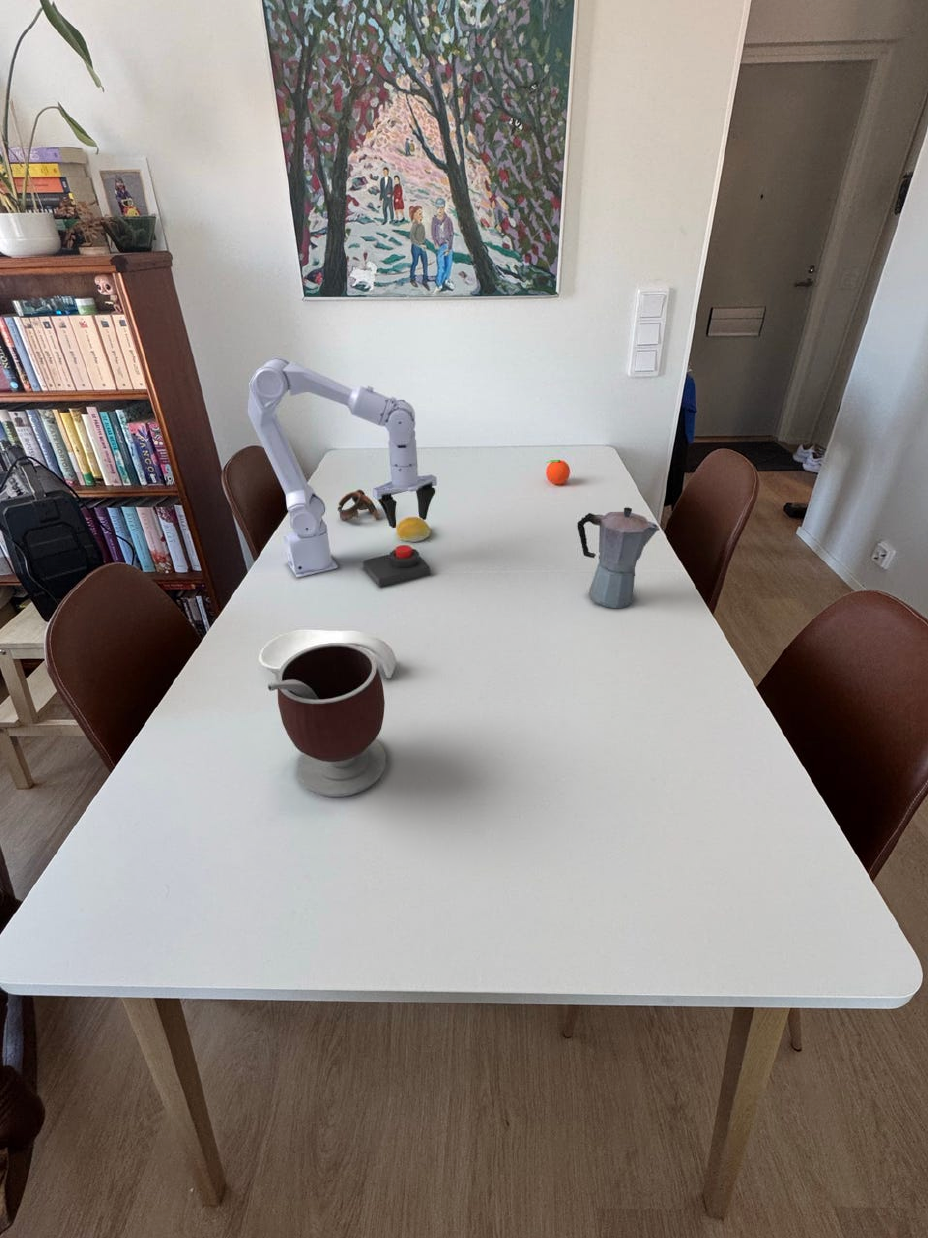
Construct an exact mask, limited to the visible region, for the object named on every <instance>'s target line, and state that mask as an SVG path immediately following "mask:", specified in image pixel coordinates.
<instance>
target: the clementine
mask: <svg viewBox="0 0 928 1238" xmlns="http://www.w3.org/2000/svg"><path fill="white" fill-rule="evenodd" d="M546 464H548V465H547V467H546V470H545V475H546V478H547V479H548V481H549V482H550V483H552V484H553V485H562V484H564V483H566V482H567V480H568V479H569V477H570V475H571V467H570V465H569V464H568V462H566V461H564V460H562V459H552V460H549V461H547V462H546Z"/></svg>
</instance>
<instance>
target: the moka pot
mask: <svg viewBox="0 0 928 1238" xmlns="http://www.w3.org/2000/svg"><path fill="white" fill-rule="evenodd" d="M586 523H590V524H592V525H594V526H599V533H598V535H599V537H598V538H599V542H598V553H599V555H598V564H597V566H596V570H595V572H594V576H593V578H592V582H591V584H590V587H589V590H588V596H589V598H590V599H591V600H592V601H593V602H594V603H596V604H598V605H600V606H602V607H606V608H611V609H622V608H626V607H628V606H630V604H631V603H633V599H634V592H635V591H634V590H635V579H636V566H637V563H638V561H639V560H640V558H641V556H642V554H643V550H644V548H645V546H646V545H647V544H648V543H649V541H650V540H651V539H652V537H653V536H654V535H655V534H656V532H658V531H660V527H659V525H657V524H656V523H655V522H652V521H649V520H648V519H647V518H646V517H645V516H643V515H640V514H637V513H634V512H633V508H631V507H628V506H627V507H624V508H623V511H609V512H607V513H606V514H604V515H603V514H594V513H591V512H588V513H587V514H585V515H584V517H582V518H581V519H580V520H578V522H577V526H576V527H577V532H578V536H579V540H580V544H581V549H582V554H583V556H585V557H587V558H590V559H595V558H596V556H597V554H596V553H594V552H590V551H589V548H588V541H587V535H586V528H585V524H586Z"/></svg>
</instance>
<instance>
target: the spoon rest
mask: <svg viewBox="0 0 928 1238" xmlns="http://www.w3.org/2000/svg"><path fill="white" fill-rule="evenodd" d="M328 643H345V644H352V645H356V646H359V647H361V648H363V649H365V650H366V649H367V651H369V652H370V651H371V652H372V653H374V655H376V656H377V657H378V659H379V660H380V662H381V665H382V668H383V670H384V675H385V677H386V678H388V679H391V678H392V676H393V674H394V671H395V668H396V666H397V658H396V655H395V652H394V651H393V649H392V648H391V646H389V645H388V643H386V642H385V641H384V640H383V639H381V638H379V637H377V636H375V635H372V634H369V633H367V632H362V631H358V630H327V629H326V630H325V629H297V630H292V631H288V632H284V633H283V634H282V633H281V634H280V635H278V636H276V637H273V638H271V640H269V641H268V642H267V643H266V644H265V645H264V646H263V647H262V649H261V650H260V652H259V655H258V660H259V664H260V665H261V666H262V667H263V668H265V669H266V670H267V671H269V672H271V673H273V674H276V675H278V673H279V670H280V668H281V667H282V665H283V664H284V663H285V662H286V661H287V660H288V659H289V658H290V657H292V656H293V655H295V654H296V653H298V652H300V651H302V650H304V649H307V648H310V647H313V646H317V645H321V644H328Z"/></svg>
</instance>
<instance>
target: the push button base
mask: <svg viewBox="0 0 928 1238" xmlns="http://www.w3.org/2000/svg"><path fill="white" fill-rule="evenodd" d="M362 564H363V570H364V571H365V572H366V573H367V575H368V576H369V578H371V580H372V581H373V582H374V583H375V584H376V586H377V587H378V588H379V589H381V588H386V587H390V586H393V585H397V584H401V583H406V582H408V581H409V582H410V581H413V580H416V579H420V578H424V577H428V576H431V565H429V564H428V563H427V562H426V561H425V560H424V559H423V558H422V557H421V556H420V551H418V550H417V549H414V548H412V556H411V557H410V558H406V559H400V558H397V557H396V551H395V549H393V550H391V551H390V552H389V554H385V555H381V556H377V557H372V558H368V559H364V560H362Z"/></svg>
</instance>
